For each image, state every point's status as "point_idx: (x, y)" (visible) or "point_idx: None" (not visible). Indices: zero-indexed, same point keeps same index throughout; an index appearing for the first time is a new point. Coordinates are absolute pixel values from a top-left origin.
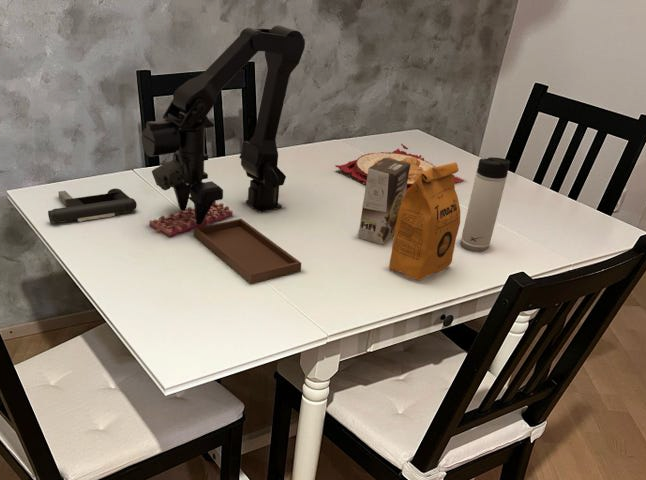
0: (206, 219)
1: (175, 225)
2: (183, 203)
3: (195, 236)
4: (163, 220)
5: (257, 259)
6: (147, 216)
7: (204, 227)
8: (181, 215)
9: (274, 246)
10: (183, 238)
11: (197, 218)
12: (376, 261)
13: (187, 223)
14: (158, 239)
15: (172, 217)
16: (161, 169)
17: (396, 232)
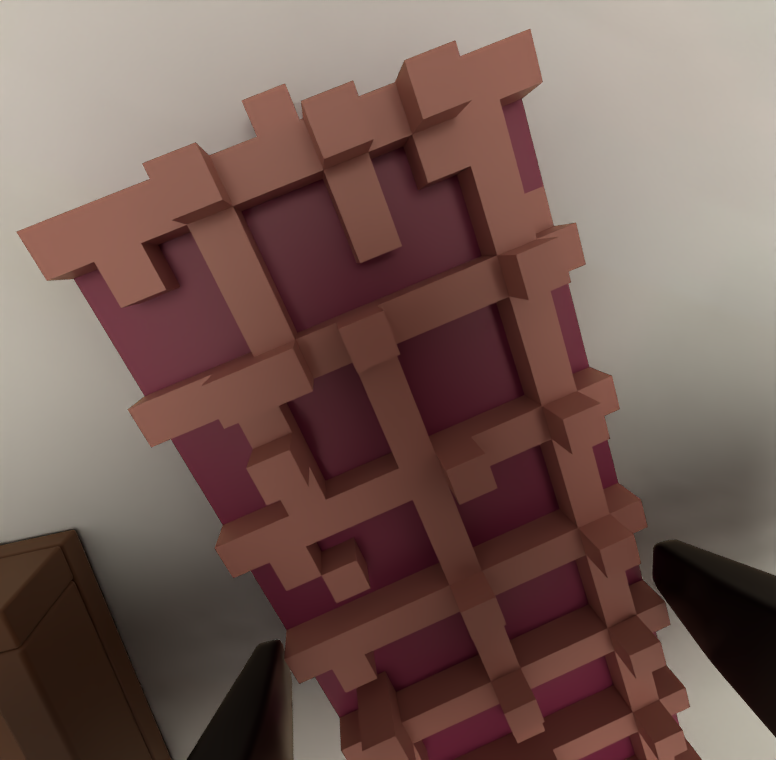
0: (350, 748)
1: (209, 379)
2: (735, 640)
3: (11, 550)
4: (477, 265)
5: None
6: (763, 155)
7: (15, 735)
8: (560, 524)
9: None
10: (32, 403)
11: (204, 735)
12: None
13: (290, 547)
14: (31, 44)
15: (527, 411)
16: None
17: None
